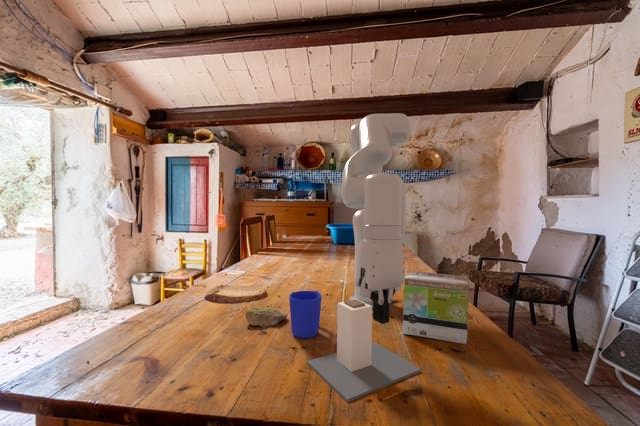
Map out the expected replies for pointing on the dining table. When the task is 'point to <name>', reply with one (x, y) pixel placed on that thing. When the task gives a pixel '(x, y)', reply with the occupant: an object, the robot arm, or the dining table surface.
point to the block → (354, 334)
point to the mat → (363, 373)
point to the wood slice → (235, 293)
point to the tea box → (436, 306)
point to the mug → (305, 313)
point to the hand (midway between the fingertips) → (380, 321)
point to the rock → (264, 316)
